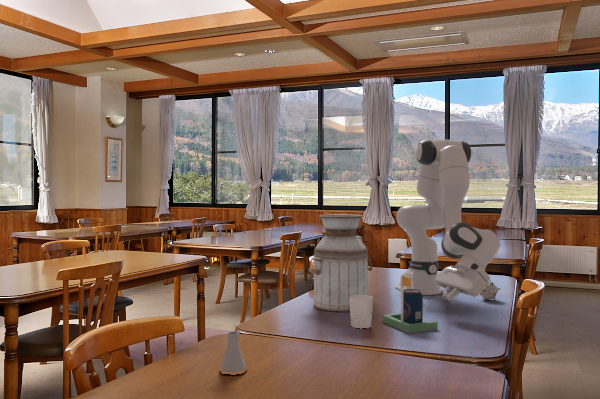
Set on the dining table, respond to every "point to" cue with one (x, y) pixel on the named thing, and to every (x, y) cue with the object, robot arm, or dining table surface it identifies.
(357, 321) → the white cup
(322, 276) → the milk can
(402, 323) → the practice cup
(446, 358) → the dining table surface
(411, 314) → the soda can
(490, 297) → the game die
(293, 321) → the dining table surface
